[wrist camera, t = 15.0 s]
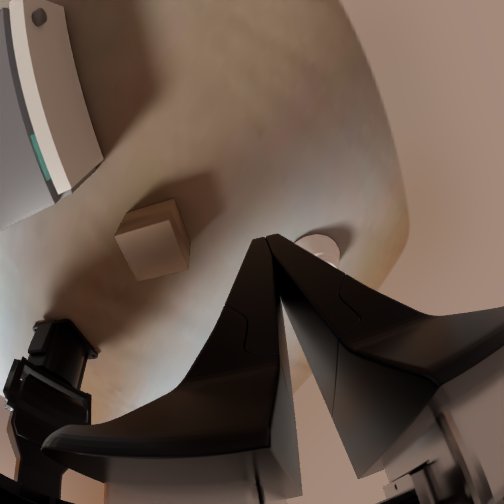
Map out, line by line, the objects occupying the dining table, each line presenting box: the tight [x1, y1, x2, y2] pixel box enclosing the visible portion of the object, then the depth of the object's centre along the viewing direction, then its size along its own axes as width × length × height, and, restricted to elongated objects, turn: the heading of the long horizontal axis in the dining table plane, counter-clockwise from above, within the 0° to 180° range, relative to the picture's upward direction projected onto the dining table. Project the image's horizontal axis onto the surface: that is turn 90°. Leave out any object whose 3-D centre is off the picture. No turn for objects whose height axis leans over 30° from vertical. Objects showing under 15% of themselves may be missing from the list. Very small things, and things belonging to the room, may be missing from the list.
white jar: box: [295, 234, 340, 269], centre depth 24 cm, size 5×3×5 cm
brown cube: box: [114, 198, 190, 282], centre depth 20 cm, size 4×4×4 cm
